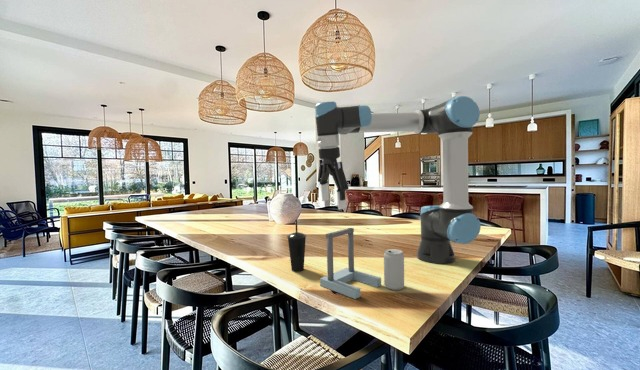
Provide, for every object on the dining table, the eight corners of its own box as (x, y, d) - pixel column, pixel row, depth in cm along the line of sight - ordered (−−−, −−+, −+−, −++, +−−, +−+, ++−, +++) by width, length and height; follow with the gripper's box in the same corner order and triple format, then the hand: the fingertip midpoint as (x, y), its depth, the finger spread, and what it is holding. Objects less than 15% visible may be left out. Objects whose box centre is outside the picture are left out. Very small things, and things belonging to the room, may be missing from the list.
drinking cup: (310, 267, 111) (309, 218, 110) (301, 274, 104) (300, 221, 103) (294, 265, 114) (292, 217, 113) (284, 271, 107) (282, 220, 107)
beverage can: (381, 283, 93) (381, 248, 92) (400, 282, 93) (399, 247, 93) (388, 291, 87) (387, 254, 86) (407, 290, 87) (407, 253, 87)
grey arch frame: (381, 285, 92) (380, 231, 91) (355, 299, 82) (354, 239, 81) (346, 274, 102) (345, 226, 102) (320, 285, 93) (318, 233, 92)
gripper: (306, 147, 107) (311, 199, 112) (335, 150, 85) (340, 215, 89) (323, 145, 110) (328, 195, 115) (356, 147, 88) (360, 210, 92)
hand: (333, 204), depth 102 cm, fingers open, 13 cm apart
